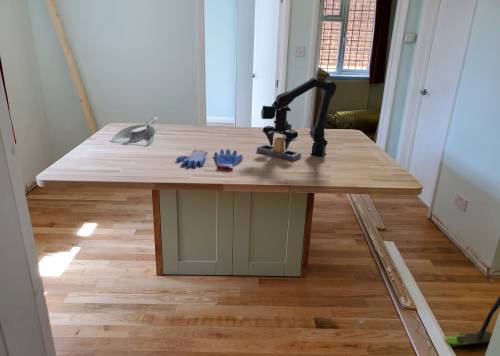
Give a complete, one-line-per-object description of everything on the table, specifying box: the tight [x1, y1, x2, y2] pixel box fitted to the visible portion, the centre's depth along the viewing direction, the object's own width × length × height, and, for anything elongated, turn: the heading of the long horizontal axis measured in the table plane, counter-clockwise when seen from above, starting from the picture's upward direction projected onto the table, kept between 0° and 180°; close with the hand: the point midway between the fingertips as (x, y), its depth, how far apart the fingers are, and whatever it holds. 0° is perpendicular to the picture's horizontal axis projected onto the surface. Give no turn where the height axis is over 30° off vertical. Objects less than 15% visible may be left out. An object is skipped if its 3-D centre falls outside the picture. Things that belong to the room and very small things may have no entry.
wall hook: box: [282, 126, 297, 141], centre depth 242 cm, size 9×10×10 cm
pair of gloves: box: [176, 149, 243, 172], centre depth 196 cm, size 32×26×4 cm
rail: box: [256, 144, 302, 162], centre depth 210 cm, size 23×8×2 cm, turn 54°
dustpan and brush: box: [111, 116, 158, 147], centre depth 230 cm, size 23×33×10 cm
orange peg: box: [273, 136, 285, 153], centre depth 209 cm, size 4×4×9 cm
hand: (278, 147), depth 209 cm, fingers open, 9 cm apart
